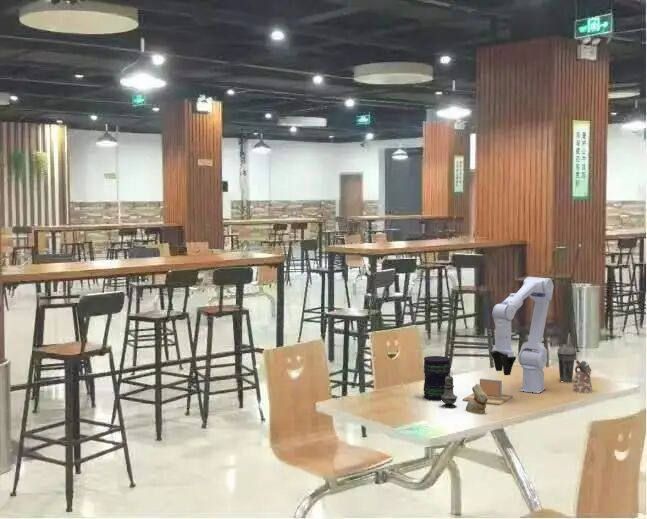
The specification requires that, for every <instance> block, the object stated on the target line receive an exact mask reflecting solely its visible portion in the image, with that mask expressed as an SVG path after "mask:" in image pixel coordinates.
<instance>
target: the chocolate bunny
mask: <svg viewBox="0 0 647 519" xmlns="http://www.w3.org/2000/svg"><path fill="white" fill-rule="evenodd" d="M471 389H472V394H473V393H474V399H472V400H470V401H469V402H468V401H467V404H466V407H465V410H466V411H467V412H469V413H472V414H486V408H487V404H485V403H486V402H487V400H488V398H487V395H486V393H484V392H483V390H482V388H481V386H480V383H475V385H473V386H472V388H471Z"/></svg>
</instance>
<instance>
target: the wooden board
mask: <svg viewBox="0 0 647 519" xmlns="http://www.w3.org/2000/svg"><path fill="white" fill-rule="evenodd" d="M487 398H488V400H487V402H486V403H485V404H486V405H493V406H502V404H504V403H505V401H506V402H508V401H509V400H510V398H511V399H512V398H514V396H513V394H512V395H511V394H503V393H502V397H492V396H487ZM472 399H474V393H473V392H472V394H469V395H467V396H466V397H464V398H462V402H467V403H468V402H469V401H470V400H472Z"/></svg>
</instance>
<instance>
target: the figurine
mask: <svg viewBox="0 0 647 519" xmlns="http://www.w3.org/2000/svg"><path fill="white" fill-rule="evenodd" d="M575 363H576V366H575V368H574V370H575V371H574V372H575V375H574V378H573V385H572V391H573V390H574V391H575V393H577V392H579V393H578V394H591V393H593V387H592V386H593V385H592V380H591V374H592V373H591V372H592V371H593V370H592V369H591V367H590V364H589V363H588V362H587V361H585V360H582V361H580V360H578V359H577V360H575ZM578 369H579V370H578ZM574 391H573V392H574ZM590 392H591V393H590Z"/></svg>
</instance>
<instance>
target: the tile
mask: <svg viewBox="0 0 647 519" xmlns="http://www.w3.org/2000/svg"><path fill="white" fill-rule="evenodd" d="M502 382H503V381H502V380H498V379H492V378H491V379H489V378H480V379H479V385H480V386H481V388H482V390H483V392H484V393H486V395H487V396H492V397H502V394H503V393H502V392H503V390H502V389H503V386H502V385H503V384H502Z"/></svg>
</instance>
